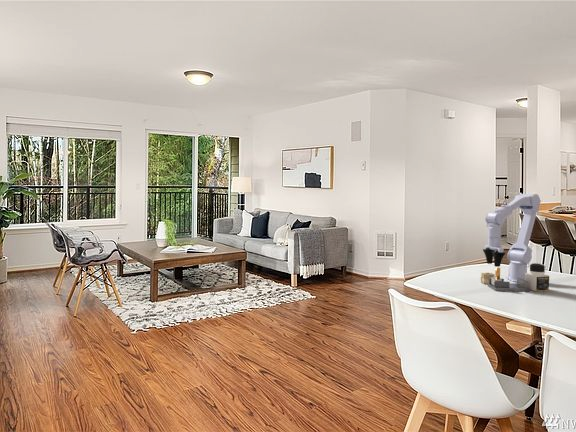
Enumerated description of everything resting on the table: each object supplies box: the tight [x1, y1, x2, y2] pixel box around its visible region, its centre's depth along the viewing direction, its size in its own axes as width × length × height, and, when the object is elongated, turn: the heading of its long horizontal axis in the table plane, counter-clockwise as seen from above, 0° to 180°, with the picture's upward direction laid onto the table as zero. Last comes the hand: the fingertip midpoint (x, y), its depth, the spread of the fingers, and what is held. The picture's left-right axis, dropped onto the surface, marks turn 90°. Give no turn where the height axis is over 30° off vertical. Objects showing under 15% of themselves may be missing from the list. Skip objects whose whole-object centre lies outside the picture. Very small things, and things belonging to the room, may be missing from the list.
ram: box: [491, 267, 503, 285], centre depth 209 cm, size 5×3×8 cm, turn 175°
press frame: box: [487, 278, 530, 293], centre depth 209 cm, size 10×14×4 cm
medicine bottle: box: [525, 262, 550, 293], centre depth 207 cm, size 7×7×12 cm
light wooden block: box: [480, 272, 495, 285], centre depth 220 cm, size 4×5×5 cm
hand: (493, 265), depth 217 cm, fingers open, 7 cm apart
